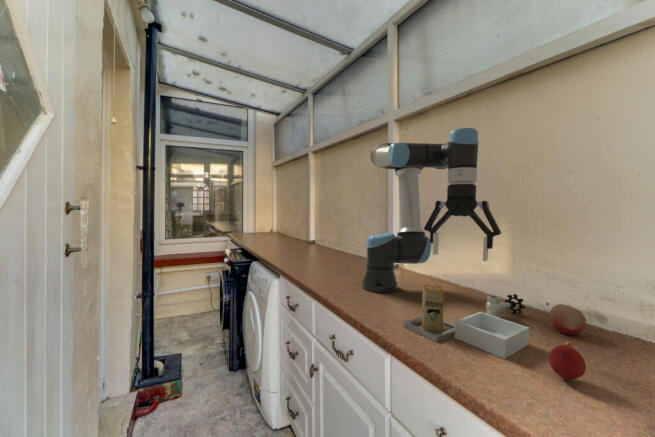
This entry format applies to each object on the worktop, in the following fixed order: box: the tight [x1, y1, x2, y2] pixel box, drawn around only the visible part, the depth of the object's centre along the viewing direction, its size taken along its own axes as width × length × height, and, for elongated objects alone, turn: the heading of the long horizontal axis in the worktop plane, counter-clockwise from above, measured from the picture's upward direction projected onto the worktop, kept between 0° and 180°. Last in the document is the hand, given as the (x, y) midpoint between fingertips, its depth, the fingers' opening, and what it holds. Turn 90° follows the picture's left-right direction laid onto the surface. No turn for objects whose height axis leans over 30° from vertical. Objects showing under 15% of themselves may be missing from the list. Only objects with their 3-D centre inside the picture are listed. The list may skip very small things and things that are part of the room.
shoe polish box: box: [421, 284, 445, 334], centre depth 81 cm, size 5×5×12 cm
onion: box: [548, 341, 587, 382], centre depth 58 cm, size 6×6×8 cm
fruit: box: [548, 303, 587, 336], centre depth 80 cm, size 8×8×8 cm
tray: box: [454, 311, 530, 360], centre depth 75 cm, size 13×13×5 cm
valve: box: [485, 293, 526, 318], centre depth 92 cm, size 7×7×12 cm
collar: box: [402, 315, 455, 343], centre depth 82 cm, size 11×11×1 cm
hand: (459, 257), depth 82 cm, fingers open, 13 cm apart
